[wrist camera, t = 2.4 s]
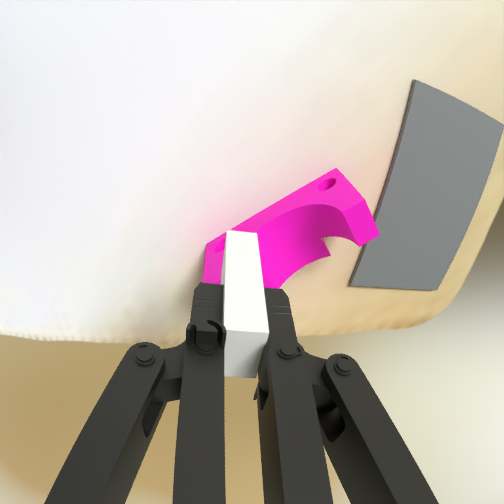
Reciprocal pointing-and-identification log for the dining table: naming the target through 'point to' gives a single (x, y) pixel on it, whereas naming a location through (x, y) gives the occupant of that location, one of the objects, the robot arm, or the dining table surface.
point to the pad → (429, 191)
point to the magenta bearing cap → (300, 229)
